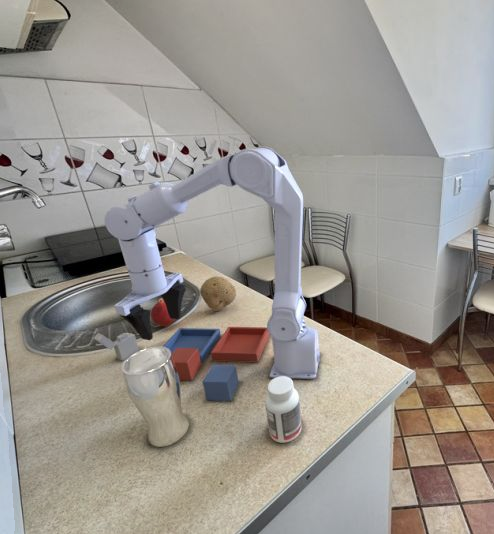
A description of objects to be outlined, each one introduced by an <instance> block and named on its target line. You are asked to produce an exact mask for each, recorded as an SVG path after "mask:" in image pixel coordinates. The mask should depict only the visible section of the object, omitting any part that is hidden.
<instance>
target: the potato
mask: <svg viewBox="0 0 494 534" xmlns="http://www.w3.org/2000/svg"><path fill="white" fill-rule="evenodd" d="M199 290H200V292H199V293H200V296H201V298H202V299H203V301H204V303H205V304H206V305H207V307H208V308H209V309H210V310H212V311H214V312H221V311H222V310H224V309H225V308H226V307H227V306H228V305H231V304H232V303H233V302H234V301H235V300H236V296H237V290H236V287H235V286H234V285H233V283H231V282H230V281H229V279H227V278H225V277H223V276H212V277H209V278H208V279H206V280H205V281H204V282H203V283H202V285H200V289H199Z"/></svg>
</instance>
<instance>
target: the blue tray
mask: <svg viewBox="0 0 494 534" xmlns="http://www.w3.org/2000/svg"><path fill="white" fill-rule="evenodd" d="M221 337H222V335H221V328H201V327H200V328H197V327H194V328H193V327H188V328H187V327H179V328H178V329H177V330H176V331H175V332H174V334H172V336H171V337H169V339H167V341H166V342H165V343H164V344H163V345H162V347H166V348H168V349H169V350H170V351H171V354H172V353H173V352H174V351H175V350H176V348H198V351H199V355H200V359H201V364H202V365H203V363H204V362H205V360H206V359H207V358H208V356H209V355H210V354H211V352H212V350H213V349H214V347H215V346H216V344H217V343H218V341H219V340H220V338H221Z"/></svg>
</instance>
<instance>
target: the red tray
mask: <svg viewBox="0 0 494 534" xmlns="http://www.w3.org/2000/svg"><path fill="white" fill-rule="evenodd" d="M270 336H271V335H270V334H269V332H268V330H267V326H266V327H265V326H228V327H227V328H226V330H225V331H224V333H223V334H222V335H221V337H220V338H219V340H218V341H217V343H216V344H215V346H214V347H213V349H212V350H211V352H210V355H211V360H212V362H240V363H241V362H246V363H247V362H248V363H258V362H259V360H260V358H261V356H262V353H263V351H264V349H265V347H266V344H267V342H268V340H269V337H270Z"/></svg>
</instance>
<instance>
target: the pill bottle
mask: <svg viewBox="0 0 494 534" xmlns="http://www.w3.org/2000/svg"><path fill="white" fill-rule="evenodd" d="M264 406H265V412H266V413H265V414H266V418H267V426H268V431H269V436H270V438H271V439H272V440H273V441H274V442H277V443H282V444H285V443H290V442H291V441H293V440H295V439H296V438H297V437H298V436H299V435H300V433H301V431H302V415H301V405H300V396H299V392H298V391H297V390H296V388H295V387H294V381H293V380H292V378H289V377H286V376H280V377H276V378H272V379H271V380H270V381H269V383H268V384H267V394H266V396H265V399H264Z"/></svg>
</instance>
